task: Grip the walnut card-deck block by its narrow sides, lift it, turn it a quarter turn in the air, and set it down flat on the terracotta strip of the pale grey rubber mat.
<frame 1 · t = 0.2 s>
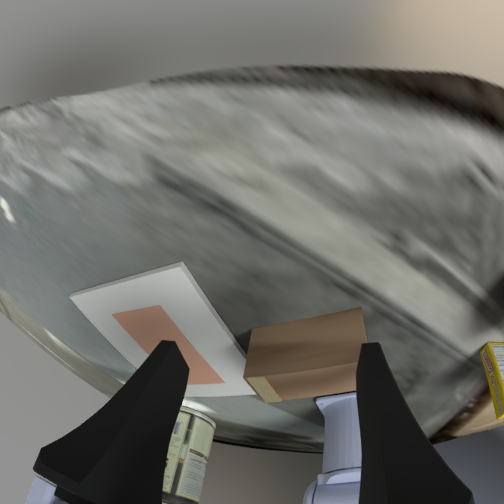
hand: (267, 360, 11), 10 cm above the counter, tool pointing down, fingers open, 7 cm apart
mat: (172, 347, 29), on the counter
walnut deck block: (311, 333, 25), on the counter
coffee can: (183, 416, 41), on the counter
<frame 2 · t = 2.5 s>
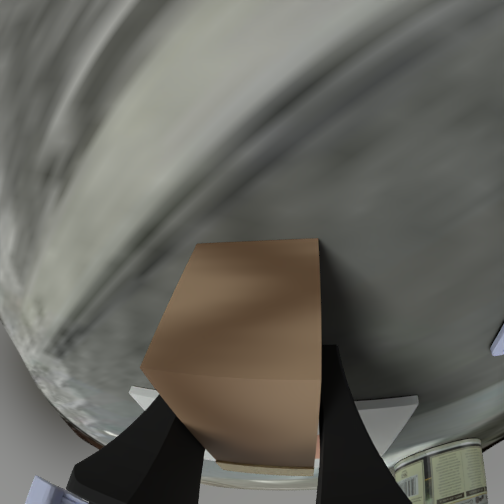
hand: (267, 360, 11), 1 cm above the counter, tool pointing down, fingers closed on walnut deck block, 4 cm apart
mat: (275, 439, 20), on the counter
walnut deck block: (270, 331, 13), on the counter, touching gripper
coffee can: (438, 454, 23), on the counter
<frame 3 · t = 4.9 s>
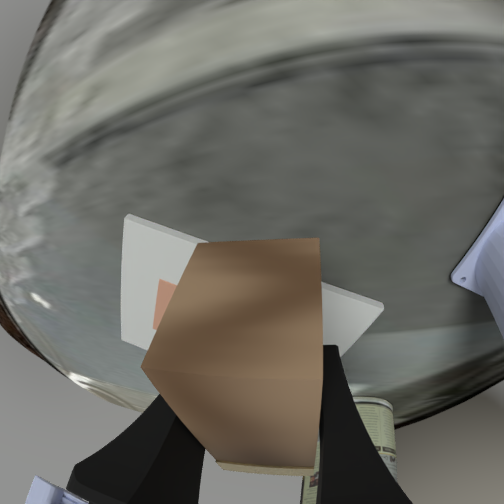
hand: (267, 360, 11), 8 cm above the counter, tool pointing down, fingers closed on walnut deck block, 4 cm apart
mat: (231, 326, 24), on the counter
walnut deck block: (271, 331, 13), point 7 cm above the counter, touching gripper
coffee can: (350, 413, 31), on the counter
when the fingers open (3 cm above the counter, at t = 7.4 s): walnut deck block drops 1 cm, resting on mat.
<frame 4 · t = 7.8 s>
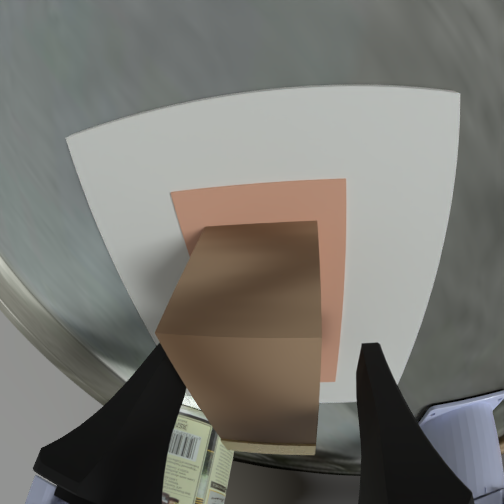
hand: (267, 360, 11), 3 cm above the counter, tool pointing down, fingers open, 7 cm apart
mat: (274, 302, 14), on the counter
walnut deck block: (273, 312, 13), point 1 cm above the counter, touching mat
coffee can: (186, 422, 26), on the counter
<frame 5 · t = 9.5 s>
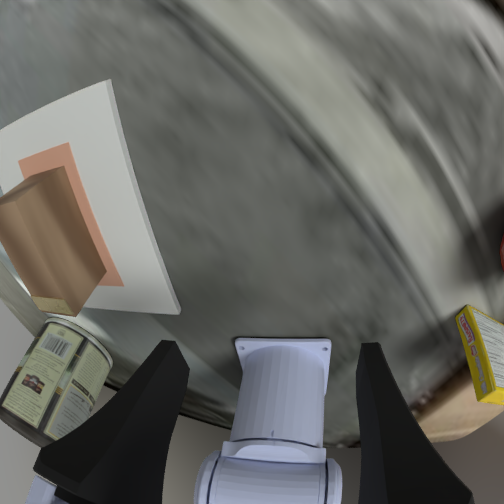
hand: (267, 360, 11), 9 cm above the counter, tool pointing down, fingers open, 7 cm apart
mat: (72, 219, 21), on the counter
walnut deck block: (67, 224, 20), point 1 cm above the counter, touching mat
coffee can: (79, 344, 33), on the counter
candy box: (500, 331, 22), on the counter
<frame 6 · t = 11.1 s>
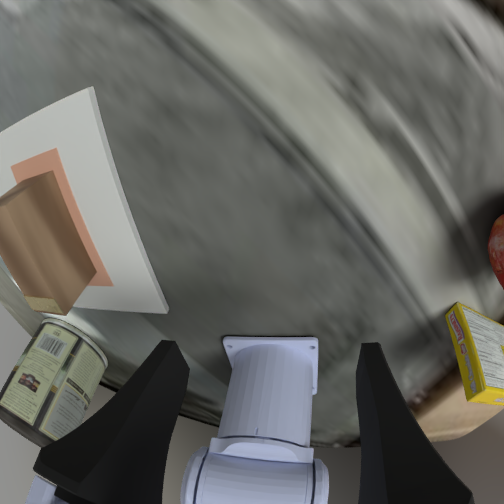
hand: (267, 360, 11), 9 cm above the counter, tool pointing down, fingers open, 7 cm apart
mat: (62, 222, 21), on the counter
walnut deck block: (57, 226, 21), point 1 cm above the counter, touching mat
coffee can: (75, 344, 33), on the counter
candy box: (494, 329, 22), on the counter
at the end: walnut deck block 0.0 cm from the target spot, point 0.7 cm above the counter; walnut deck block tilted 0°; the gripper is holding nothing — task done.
